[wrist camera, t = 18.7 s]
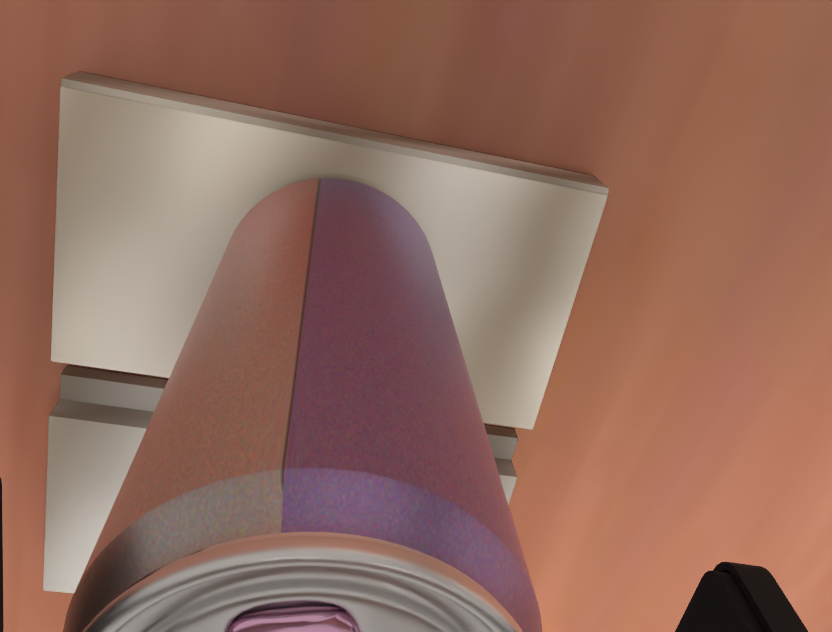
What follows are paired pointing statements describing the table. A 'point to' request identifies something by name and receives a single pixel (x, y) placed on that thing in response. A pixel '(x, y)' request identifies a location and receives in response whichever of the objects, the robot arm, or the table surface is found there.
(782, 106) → the table surface
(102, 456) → the floorboard
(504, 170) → the plank
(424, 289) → the beverage can
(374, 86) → the table surface
